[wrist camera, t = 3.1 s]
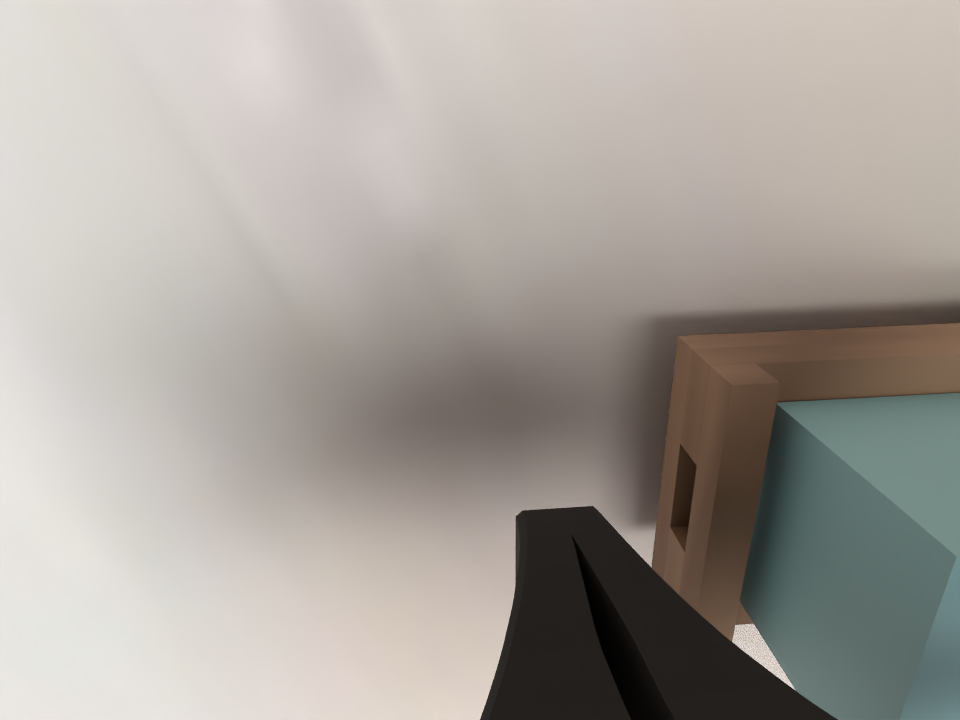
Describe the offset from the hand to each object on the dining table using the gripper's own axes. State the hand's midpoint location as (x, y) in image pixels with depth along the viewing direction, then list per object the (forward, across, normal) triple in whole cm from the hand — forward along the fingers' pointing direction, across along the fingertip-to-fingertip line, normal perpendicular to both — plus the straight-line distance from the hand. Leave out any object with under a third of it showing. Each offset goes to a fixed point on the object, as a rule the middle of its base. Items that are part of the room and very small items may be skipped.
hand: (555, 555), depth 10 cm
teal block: (+2, -6, 0) cm, 7 cm away
